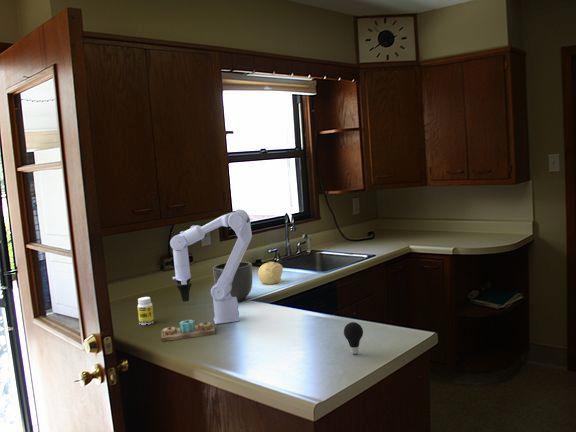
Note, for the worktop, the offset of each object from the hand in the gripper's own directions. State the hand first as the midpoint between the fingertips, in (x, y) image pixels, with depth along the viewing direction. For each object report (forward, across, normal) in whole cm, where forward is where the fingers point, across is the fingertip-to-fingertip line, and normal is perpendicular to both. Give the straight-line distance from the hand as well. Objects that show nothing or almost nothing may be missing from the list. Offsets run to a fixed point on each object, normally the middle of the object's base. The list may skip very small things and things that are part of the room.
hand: (185, 298), depth 216 cm
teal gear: (+8, +15, -1) cm, 17 cm away
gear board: (+9, +15, 0) cm, 18 cm away
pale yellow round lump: (+10, -49, +43) cm, 66 cm away
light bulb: (+10, +61, +48) cm, 78 cm away
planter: (+10, -24, +22) cm, 34 cm away
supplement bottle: (+10, -7, -16) cm, 20 cm away
